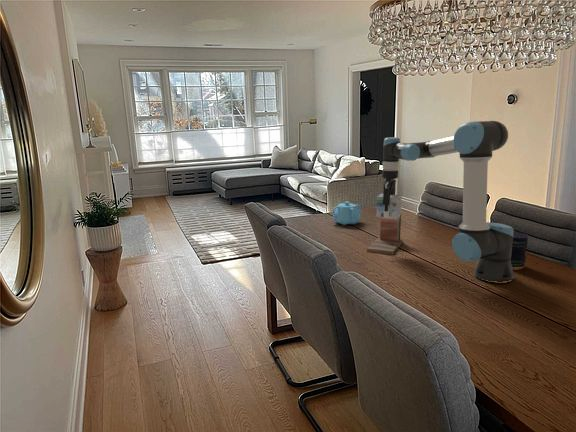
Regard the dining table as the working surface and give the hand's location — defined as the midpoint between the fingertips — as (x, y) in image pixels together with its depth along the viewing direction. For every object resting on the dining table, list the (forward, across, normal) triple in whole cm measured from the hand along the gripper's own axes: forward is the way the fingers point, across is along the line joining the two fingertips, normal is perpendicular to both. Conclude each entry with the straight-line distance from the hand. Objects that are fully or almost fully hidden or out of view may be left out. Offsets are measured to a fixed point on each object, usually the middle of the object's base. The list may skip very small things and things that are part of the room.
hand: (388, 215), depth 221 cm
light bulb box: (+1, 0, 0) cm, 1 cm away
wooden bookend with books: (+18, -4, -2) cm, 18 cm away
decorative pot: (+19, -40, -37) cm, 57 cm away
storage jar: (+17, +1, +57) cm, 60 cm away
